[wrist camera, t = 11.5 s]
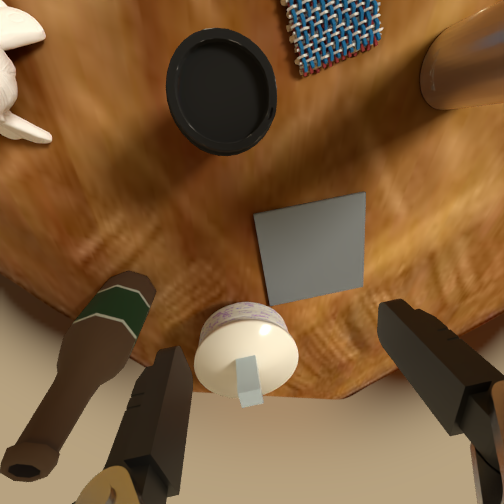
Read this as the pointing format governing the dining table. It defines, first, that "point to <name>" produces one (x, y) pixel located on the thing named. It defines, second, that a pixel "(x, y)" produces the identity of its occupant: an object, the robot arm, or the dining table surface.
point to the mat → (312, 248)
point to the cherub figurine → (3, 72)
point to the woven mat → (331, 30)
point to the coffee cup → (221, 91)
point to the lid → (246, 360)
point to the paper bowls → (240, 316)
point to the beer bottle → (81, 372)
